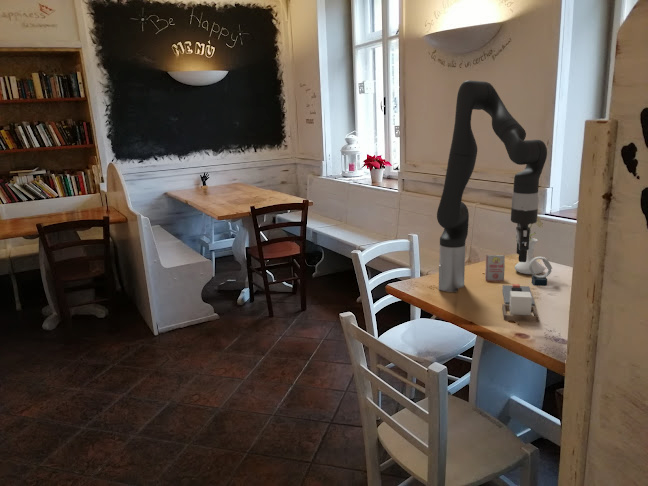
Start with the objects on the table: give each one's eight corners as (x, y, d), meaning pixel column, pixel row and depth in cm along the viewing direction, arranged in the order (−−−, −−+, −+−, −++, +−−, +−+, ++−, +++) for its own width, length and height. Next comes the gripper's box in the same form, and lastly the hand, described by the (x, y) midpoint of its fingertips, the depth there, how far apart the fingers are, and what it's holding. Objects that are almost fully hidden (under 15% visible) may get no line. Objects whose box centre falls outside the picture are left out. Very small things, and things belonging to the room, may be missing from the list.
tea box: (485, 277, 203) (486, 253, 201) (502, 278, 202) (504, 254, 199) (485, 280, 200) (486, 256, 197) (503, 281, 198) (505, 256, 196)
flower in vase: (544, 277, 200) (549, 215, 194) (514, 275, 204) (517, 214, 198) (543, 268, 212) (547, 209, 206) (514, 266, 216) (517, 208, 210)
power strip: (505, 311, 169) (505, 300, 168) (502, 294, 185) (502, 283, 184) (534, 313, 167) (534, 301, 166) (528, 295, 182) (529, 284, 181)
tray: (503, 324, 160) (504, 315, 159) (502, 312, 169) (502, 304, 168) (537, 326, 157) (538, 317, 156) (534, 314, 166) (535, 306, 165)
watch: (552, 287, 189) (554, 259, 187) (529, 287, 191) (531, 259, 188) (548, 282, 195) (550, 255, 192) (526, 282, 196) (528, 254, 193)
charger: (510, 320, 161) (511, 296, 159) (508, 314, 166) (510, 291, 164) (530, 321, 160) (531, 297, 158) (528, 315, 164) (530, 292, 162)
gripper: (510, 202, 163) (507, 251, 167) (513, 211, 149) (509, 263, 154) (535, 202, 161) (531, 252, 165) (540, 211, 147) (536, 265, 152)
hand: (521, 257), depth 159 cm, fingers open, 8 cm apart
